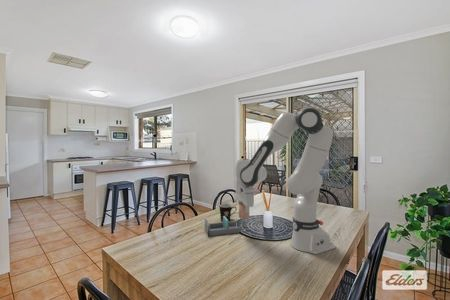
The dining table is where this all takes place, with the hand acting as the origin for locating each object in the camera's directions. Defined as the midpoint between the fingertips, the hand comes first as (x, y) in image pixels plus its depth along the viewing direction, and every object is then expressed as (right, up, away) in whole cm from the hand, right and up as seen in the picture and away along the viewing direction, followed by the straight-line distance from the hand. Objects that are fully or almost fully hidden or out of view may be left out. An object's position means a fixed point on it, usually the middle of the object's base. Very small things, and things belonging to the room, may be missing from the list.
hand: (244, 210), depth 126 cm
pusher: (-11, -14, +8) cm, 19 cm away
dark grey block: (-13, -14, +8) cm, 21 cm away
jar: (0, -4, 0) cm, 4 cm away
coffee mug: (-9, -14, +26) cm, 31 cm away
